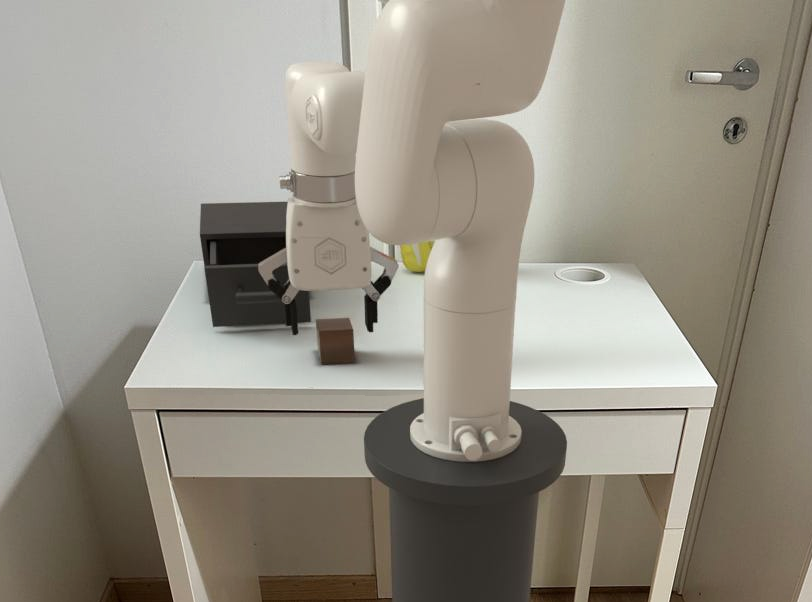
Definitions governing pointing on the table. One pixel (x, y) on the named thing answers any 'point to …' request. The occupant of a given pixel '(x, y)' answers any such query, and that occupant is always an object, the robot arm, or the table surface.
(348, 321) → the block
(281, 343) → the table surface
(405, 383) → the table surface
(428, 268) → the robot arm
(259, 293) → the drawer
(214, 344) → the table surface
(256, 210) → the grey filing cabinet
